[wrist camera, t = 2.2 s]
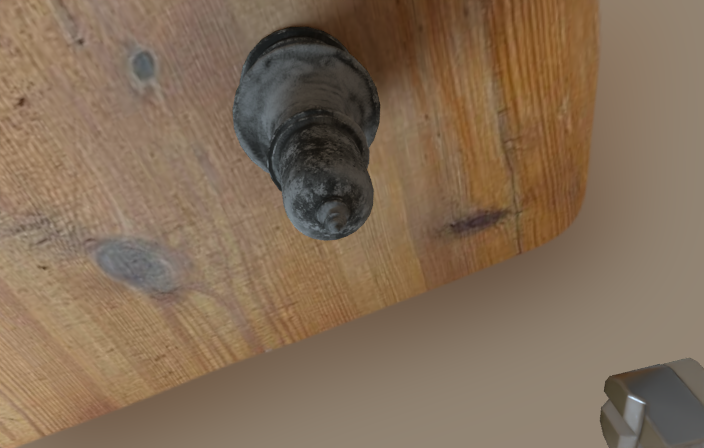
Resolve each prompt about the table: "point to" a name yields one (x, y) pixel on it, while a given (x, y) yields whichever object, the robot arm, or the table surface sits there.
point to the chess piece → (310, 128)
